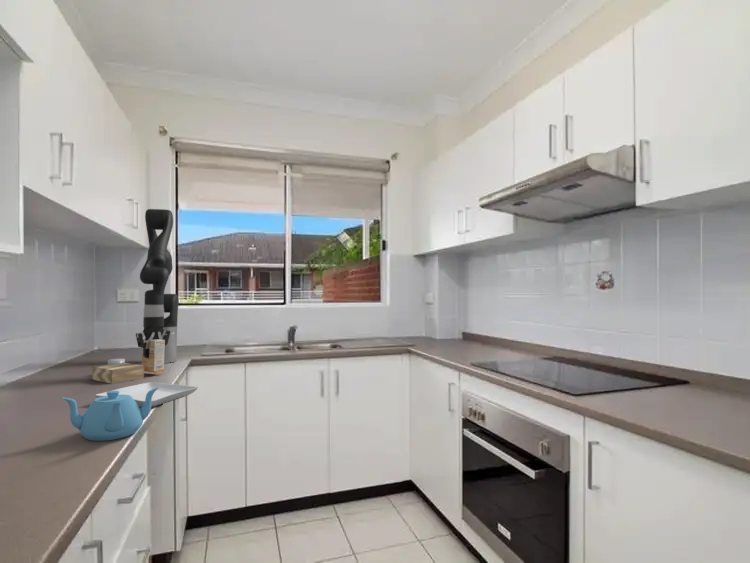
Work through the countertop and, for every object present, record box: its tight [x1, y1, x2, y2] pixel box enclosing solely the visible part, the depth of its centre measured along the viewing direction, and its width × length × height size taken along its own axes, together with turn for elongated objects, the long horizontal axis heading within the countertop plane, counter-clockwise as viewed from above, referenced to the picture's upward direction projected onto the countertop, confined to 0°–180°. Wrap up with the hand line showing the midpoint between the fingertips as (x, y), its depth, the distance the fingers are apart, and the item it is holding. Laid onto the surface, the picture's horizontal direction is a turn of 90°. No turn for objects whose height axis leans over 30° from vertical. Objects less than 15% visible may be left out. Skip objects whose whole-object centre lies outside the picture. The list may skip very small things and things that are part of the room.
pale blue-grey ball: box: [107, 358, 126, 365], centre depth 177 cm, size 6×6×6 cm
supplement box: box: [141, 338, 165, 374], centre depth 177 cm, size 8×5×13 cm, turn 62°
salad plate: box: [95, 382, 198, 408], centre depth 136 cm, size 21×21×3 cm
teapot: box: [61, 387, 159, 442], centre depth 103 cm, size 15×15×10 cm
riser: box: [91, 362, 145, 385], centre depth 167 cm, size 14×12×5 cm
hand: (152, 356), depth 177 cm, fingers closed on supplement box, 5 cm apart
